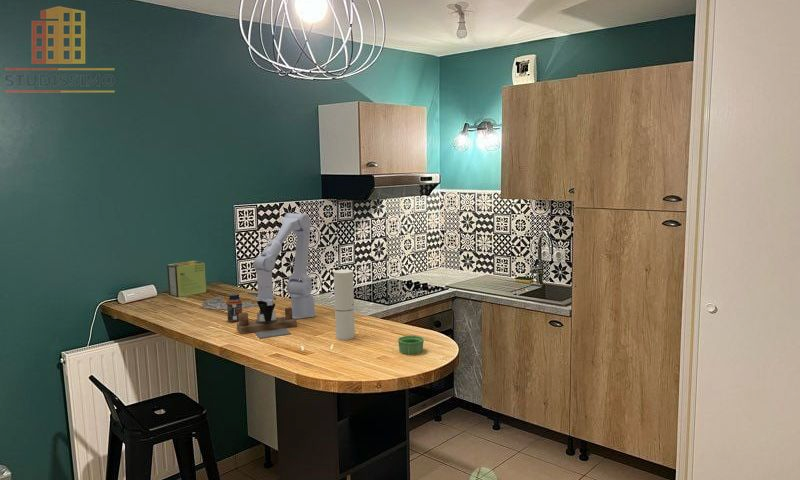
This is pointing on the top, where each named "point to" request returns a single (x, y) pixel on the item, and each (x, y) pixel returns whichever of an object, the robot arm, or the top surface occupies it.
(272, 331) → the rubber mat
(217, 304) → the worn metal disc
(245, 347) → the top surface
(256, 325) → the body
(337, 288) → the cylindrical container
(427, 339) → the top surface
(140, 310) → the top surface
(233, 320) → the supplement bottle
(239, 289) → the top surface
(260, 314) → the light switch plate
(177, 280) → the protein box
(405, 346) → the ramekin
